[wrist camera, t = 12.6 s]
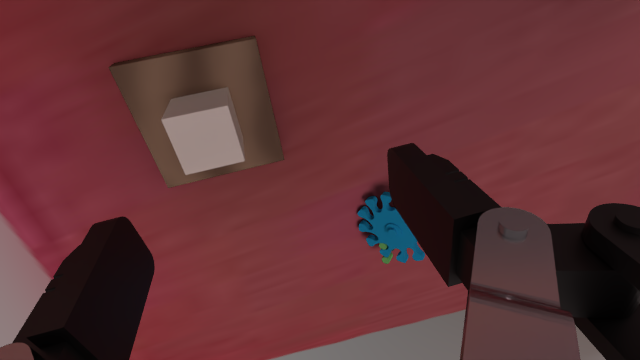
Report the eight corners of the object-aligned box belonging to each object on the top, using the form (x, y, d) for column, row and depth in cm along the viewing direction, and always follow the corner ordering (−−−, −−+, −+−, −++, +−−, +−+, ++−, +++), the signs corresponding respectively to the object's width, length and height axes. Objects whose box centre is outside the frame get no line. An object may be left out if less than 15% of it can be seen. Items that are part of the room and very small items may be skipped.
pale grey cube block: (227, 87, 29) (227, 105, 25) (242, 137, 32) (245, 161, 28) (171, 98, 28) (161, 119, 24) (191, 148, 31) (185, 175, 27)
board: (254, 35, 29) (258, 45, 25) (282, 153, 35) (288, 175, 32) (113, 63, 27) (94, 77, 23) (170, 180, 34) (162, 206, 30)
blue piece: (365, 183, 38) (447, 224, 35) (384, 162, 42) (460, 196, 39) (346, 245, 45) (414, 284, 41) (365, 221, 49) (428, 255, 46)
